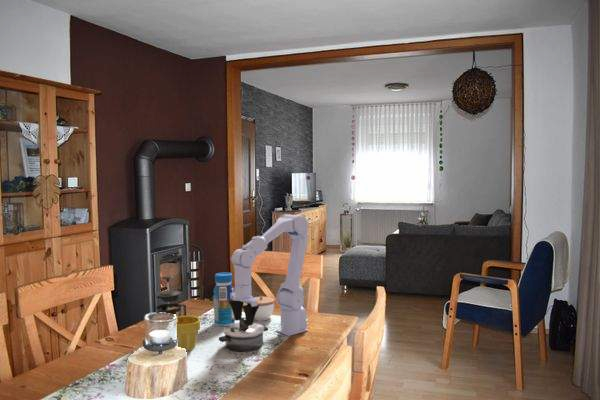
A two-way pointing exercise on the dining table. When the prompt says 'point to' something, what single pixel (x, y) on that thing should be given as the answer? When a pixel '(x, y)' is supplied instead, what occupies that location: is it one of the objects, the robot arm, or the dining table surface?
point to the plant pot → (187, 331)
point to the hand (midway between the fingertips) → (243, 322)
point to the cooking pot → (243, 342)
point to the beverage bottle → (223, 299)
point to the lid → (243, 329)
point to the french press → (170, 300)
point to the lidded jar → (264, 308)
